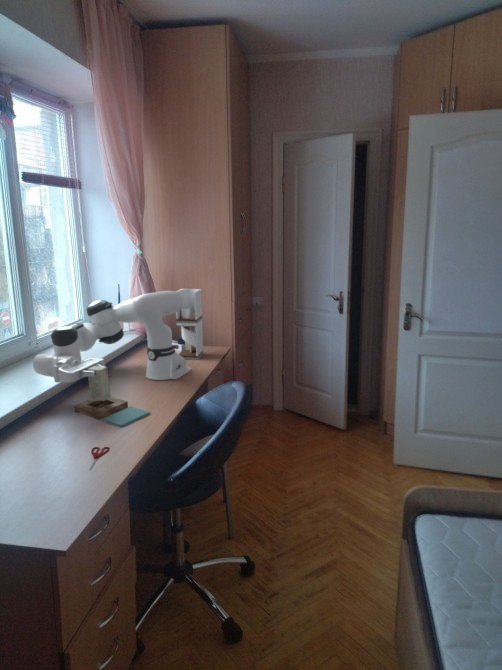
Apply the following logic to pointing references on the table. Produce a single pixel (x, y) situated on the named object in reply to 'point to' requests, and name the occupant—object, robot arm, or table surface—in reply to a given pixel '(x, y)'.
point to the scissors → (98, 454)
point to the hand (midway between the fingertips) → (99, 371)
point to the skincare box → (99, 384)
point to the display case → (191, 323)
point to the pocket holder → (111, 407)
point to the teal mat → (125, 416)
